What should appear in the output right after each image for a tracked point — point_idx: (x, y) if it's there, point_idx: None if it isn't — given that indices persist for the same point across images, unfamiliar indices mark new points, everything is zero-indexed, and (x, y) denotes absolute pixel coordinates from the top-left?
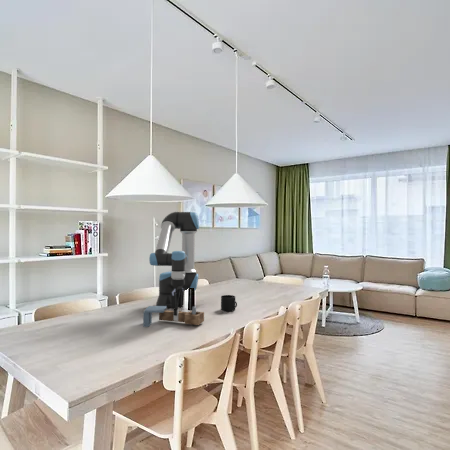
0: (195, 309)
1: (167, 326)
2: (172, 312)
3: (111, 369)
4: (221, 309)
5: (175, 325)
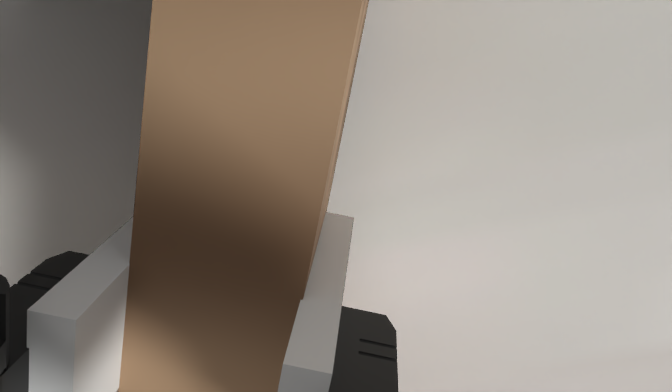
0: None
1: (5, 92)
2: (135, 208)
3: None
4: None
5: (108, 222)
